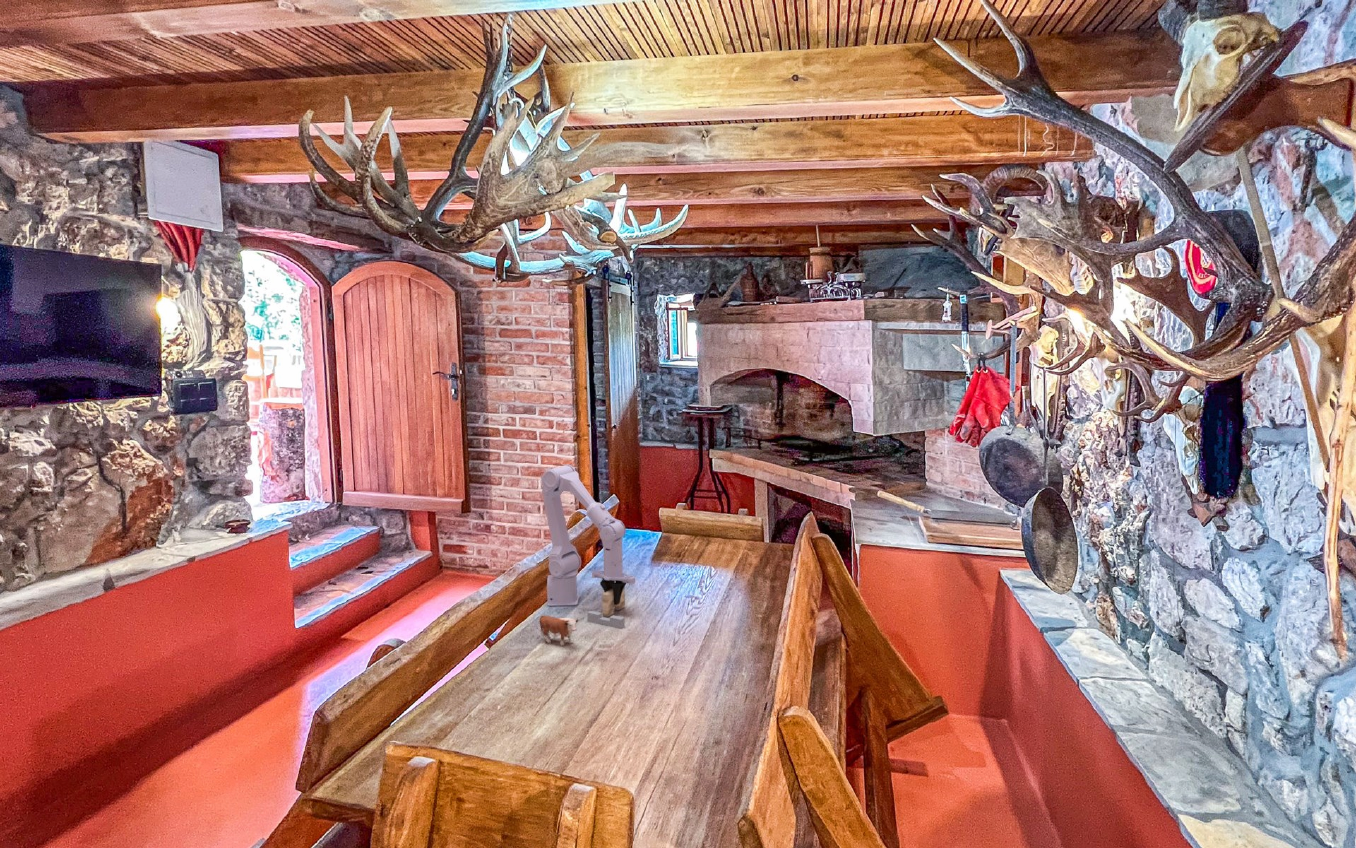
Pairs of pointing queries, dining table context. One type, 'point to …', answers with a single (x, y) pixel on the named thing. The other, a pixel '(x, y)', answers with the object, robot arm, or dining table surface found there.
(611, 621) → the slate rail
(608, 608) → the beige slab block
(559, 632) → the bull figurine
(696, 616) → the dining table surface
